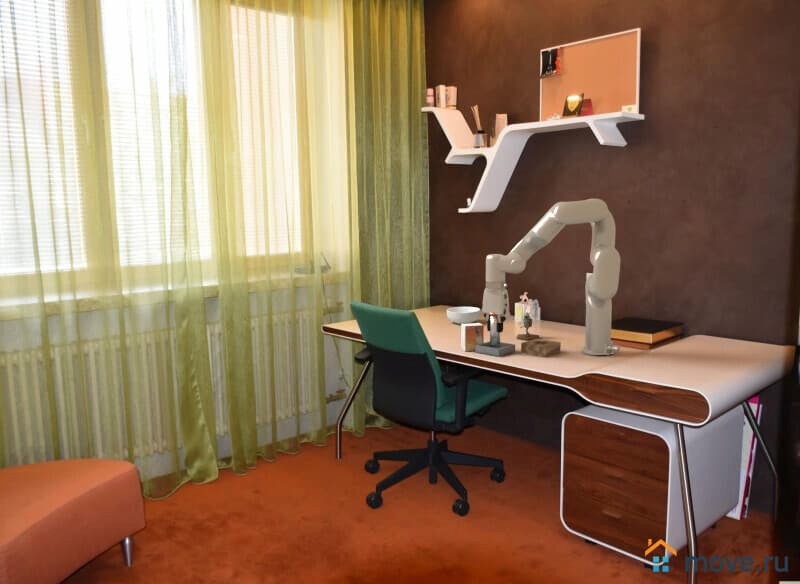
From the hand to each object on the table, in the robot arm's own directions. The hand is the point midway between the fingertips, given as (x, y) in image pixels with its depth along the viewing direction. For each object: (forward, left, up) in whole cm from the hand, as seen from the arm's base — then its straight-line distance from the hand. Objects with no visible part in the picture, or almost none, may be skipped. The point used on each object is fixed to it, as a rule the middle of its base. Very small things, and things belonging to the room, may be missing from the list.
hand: (495, 330), depth 258 cm
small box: (+10, +2, -9) cm, 14 cm away
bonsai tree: (+5, -31, -9) cm, 33 cm away
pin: (0, 0, -5) cm, 5 cm away
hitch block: (-14, -11, -9) cm, 20 cm away
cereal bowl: (+49, -41, -9) cm, 65 cm away
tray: (0, 0, -9) cm, 9 cm away
